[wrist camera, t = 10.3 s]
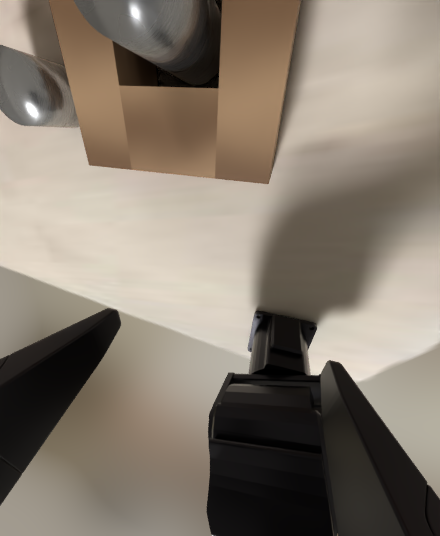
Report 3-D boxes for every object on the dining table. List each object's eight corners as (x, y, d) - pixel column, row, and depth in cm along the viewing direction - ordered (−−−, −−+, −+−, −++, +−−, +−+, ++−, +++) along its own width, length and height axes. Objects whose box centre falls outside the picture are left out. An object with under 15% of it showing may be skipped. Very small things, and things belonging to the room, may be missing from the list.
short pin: (92, 129, 18) (49, 127, 14) (52, 126, 18) (2, 124, 15) (78, 63, 16) (23, 43, 12) (33, 63, 16) (-31, 44, 13)
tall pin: (224, 85, 14) (173, 40, 7) (168, 84, 15) (76, 41, 8) (229, -7, 12) (164, -185, 5) (163, -4, 13) (33, -158, 6)
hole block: (271, 173, 16) (268, 184, 12) (128, 159, 18) (89, 165, 14) (336, -204, 9) (378, -466, 5) (80, -154, 11) (-28, -310, 7)
